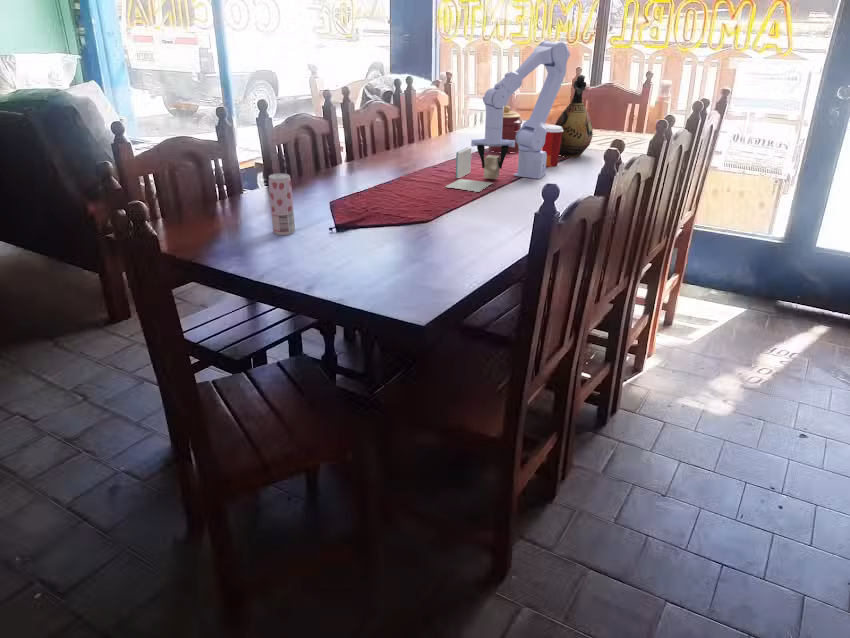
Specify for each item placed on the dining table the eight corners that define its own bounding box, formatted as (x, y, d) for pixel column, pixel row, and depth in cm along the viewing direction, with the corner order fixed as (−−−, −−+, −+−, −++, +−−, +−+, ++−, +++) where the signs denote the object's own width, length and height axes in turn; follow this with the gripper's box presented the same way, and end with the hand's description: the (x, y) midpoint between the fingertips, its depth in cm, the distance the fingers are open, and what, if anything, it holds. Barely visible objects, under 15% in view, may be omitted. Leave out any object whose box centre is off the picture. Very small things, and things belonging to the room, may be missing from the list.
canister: (509, 155, 263) (512, 109, 255) (482, 151, 270) (484, 106, 262) (526, 150, 272) (529, 105, 264) (499, 146, 279) (501, 102, 271)
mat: (492, 184, 222) (492, 183, 221) (478, 192, 212) (478, 191, 212) (460, 180, 227) (460, 178, 226) (444, 188, 217) (445, 186, 217)
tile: (470, 173, 235) (471, 148, 231) (459, 179, 228) (460, 152, 224) (466, 173, 236) (467, 147, 232) (455, 178, 229) (456, 152, 225)
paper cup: (559, 163, 251) (562, 125, 245) (560, 167, 244) (564, 128, 238) (538, 162, 252) (541, 124, 246) (539, 167, 245) (542, 128, 239)
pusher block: (498, 176, 228) (500, 156, 225) (494, 179, 225) (495, 158, 222) (488, 175, 230) (489, 155, 227) (483, 177, 227) (484, 157, 224)
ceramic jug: (590, 160, 255) (600, 78, 242) (549, 158, 258) (557, 77, 245) (589, 151, 270) (598, 73, 257) (551, 149, 273) (558, 72, 260)
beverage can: (285, 227, 179) (280, 172, 172) (299, 231, 176) (295, 175, 169) (268, 232, 175) (263, 176, 168) (282, 237, 172) (277, 179, 165)
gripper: (515, 125, 223) (512, 165, 229) (472, 124, 224) (470, 164, 230) (516, 128, 217) (513, 170, 223) (471, 128, 218) (470, 169, 224)
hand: (491, 167), depth 226 cm, fingers closed on pusher block, 5 cm apart
